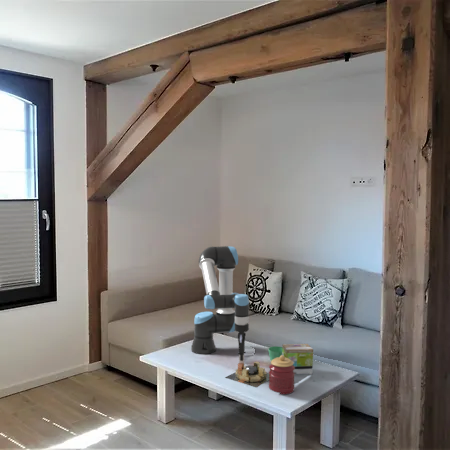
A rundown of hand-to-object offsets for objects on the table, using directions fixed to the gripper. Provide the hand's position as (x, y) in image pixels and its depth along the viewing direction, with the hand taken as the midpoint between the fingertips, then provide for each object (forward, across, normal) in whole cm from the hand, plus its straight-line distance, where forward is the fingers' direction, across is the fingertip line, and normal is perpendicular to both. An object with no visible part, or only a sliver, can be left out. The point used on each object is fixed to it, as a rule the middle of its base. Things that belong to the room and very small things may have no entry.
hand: (241, 365), depth 264 cm
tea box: (+6, +8, -30) cm, 32 cm away
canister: (+6, -16, -22) cm, 27 cm away
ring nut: (+4, -4, -5) cm, 8 cm away
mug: (+6, +17, -20) cm, 27 cm away
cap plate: (+5, -4, -5) cm, 9 cm away
